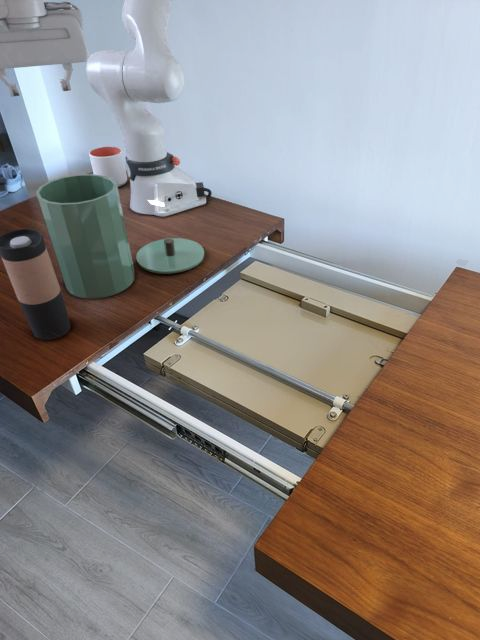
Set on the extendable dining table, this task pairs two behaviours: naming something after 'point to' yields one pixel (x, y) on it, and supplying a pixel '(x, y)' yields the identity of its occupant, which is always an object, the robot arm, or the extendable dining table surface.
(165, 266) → the lid
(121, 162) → the cup
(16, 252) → the travel mug
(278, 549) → the extendable dining table surface
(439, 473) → the extendable dining table surface
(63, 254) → the pot
